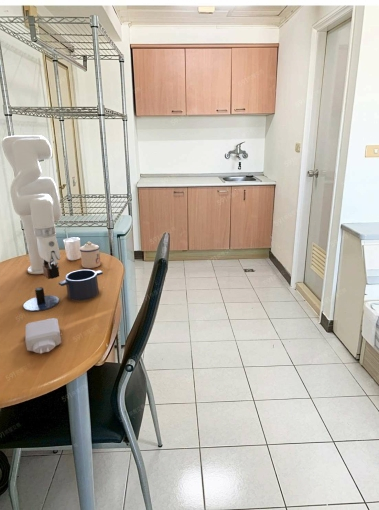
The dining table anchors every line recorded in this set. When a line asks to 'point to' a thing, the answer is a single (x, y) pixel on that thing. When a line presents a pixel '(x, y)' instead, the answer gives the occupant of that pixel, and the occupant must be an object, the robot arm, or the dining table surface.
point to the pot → (81, 284)
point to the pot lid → (40, 301)
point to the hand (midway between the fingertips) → (51, 275)
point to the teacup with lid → (90, 255)
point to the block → (47, 271)
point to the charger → (42, 335)
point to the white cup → (72, 248)
